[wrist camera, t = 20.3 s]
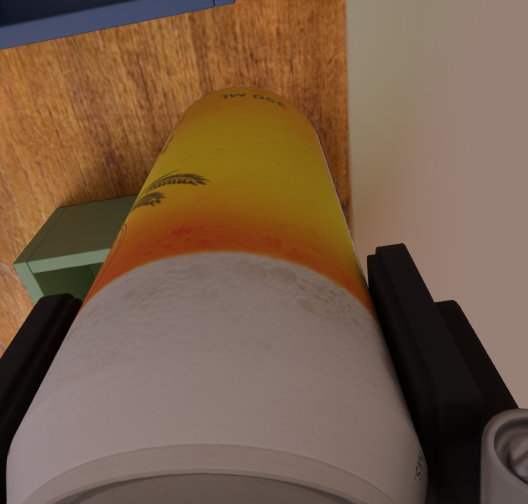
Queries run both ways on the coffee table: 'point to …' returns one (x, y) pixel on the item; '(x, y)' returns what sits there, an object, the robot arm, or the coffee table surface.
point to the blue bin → (83, 16)
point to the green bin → (72, 248)
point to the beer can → (225, 339)
